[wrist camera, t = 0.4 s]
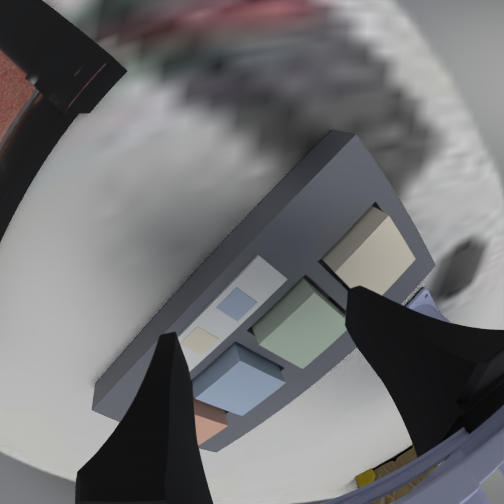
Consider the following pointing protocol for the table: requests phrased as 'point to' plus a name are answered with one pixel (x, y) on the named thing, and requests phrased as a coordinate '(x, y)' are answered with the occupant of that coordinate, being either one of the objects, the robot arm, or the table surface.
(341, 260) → the sand key
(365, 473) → the decorative book
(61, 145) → the table surface
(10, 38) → the book
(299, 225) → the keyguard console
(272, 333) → the sage key
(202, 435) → the terracotta key
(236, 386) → the slate key
